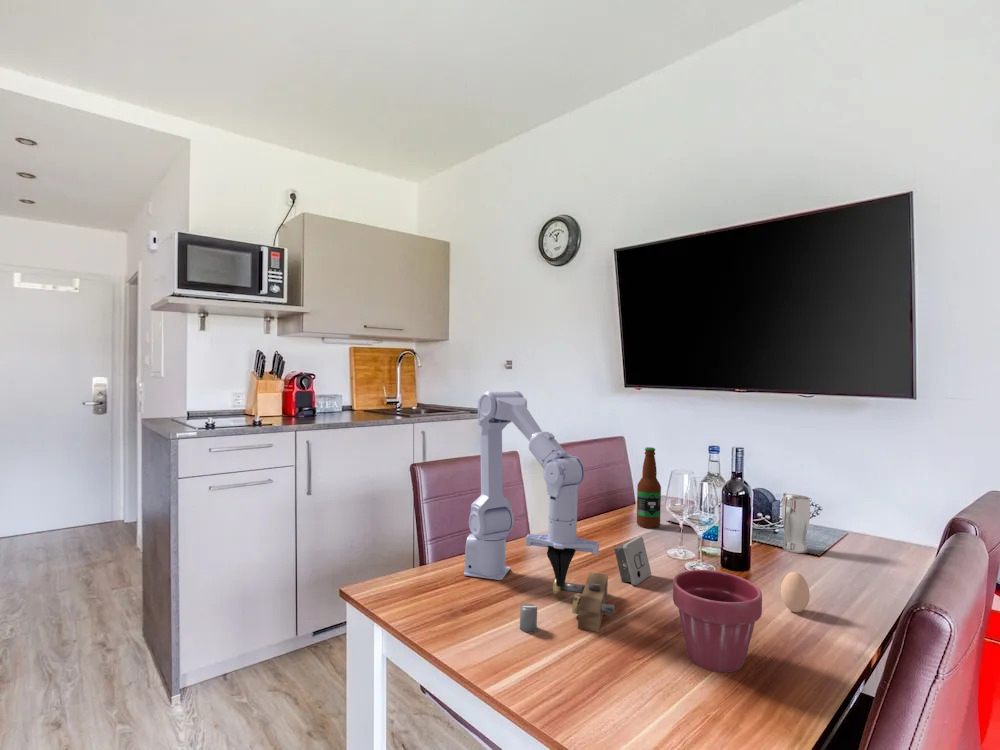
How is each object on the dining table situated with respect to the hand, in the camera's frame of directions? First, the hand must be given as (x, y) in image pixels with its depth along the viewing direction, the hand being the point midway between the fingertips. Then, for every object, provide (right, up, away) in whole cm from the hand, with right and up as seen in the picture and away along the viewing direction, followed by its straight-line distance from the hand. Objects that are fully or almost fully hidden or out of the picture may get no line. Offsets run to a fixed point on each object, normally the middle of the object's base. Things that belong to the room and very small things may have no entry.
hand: (560, 584), depth 108 cm
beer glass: (+71, -7, +43) cm, 83 cm away
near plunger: (+6, -5, -2) cm, 8 cm away
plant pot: (+25, -7, -16) cm, 30 cm away
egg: (+49, -7, +3) cm, 50 cm away
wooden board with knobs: (+7, -6, +2) cm, 9 cm away
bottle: (+35, -6, +64) cm, 73 cm away
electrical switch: (+19, -6, +19) cm, 28 cm away
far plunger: (+3, -5, +7) cm, 10 cm away
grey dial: (-7, -6, -6) cm, 11 cm away
